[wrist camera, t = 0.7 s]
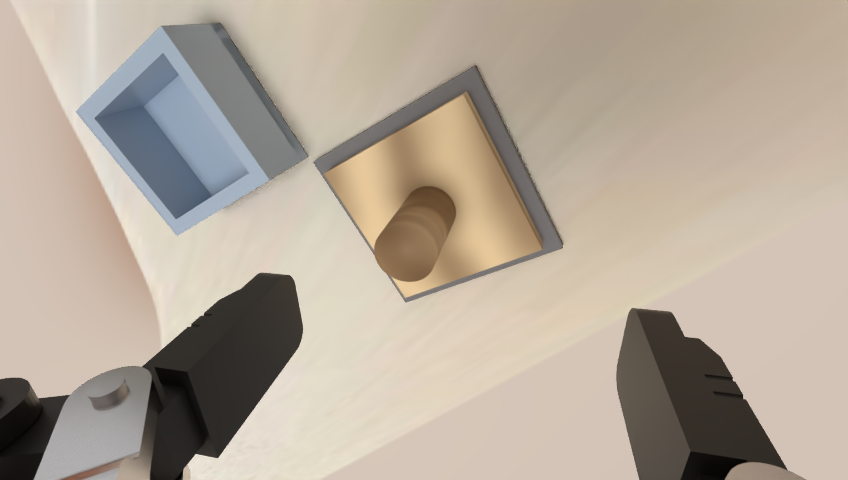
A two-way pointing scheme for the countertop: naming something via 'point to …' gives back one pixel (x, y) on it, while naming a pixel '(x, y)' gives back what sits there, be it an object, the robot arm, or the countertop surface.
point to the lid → (436, 200)
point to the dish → (190, 124)
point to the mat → (500, 139)
